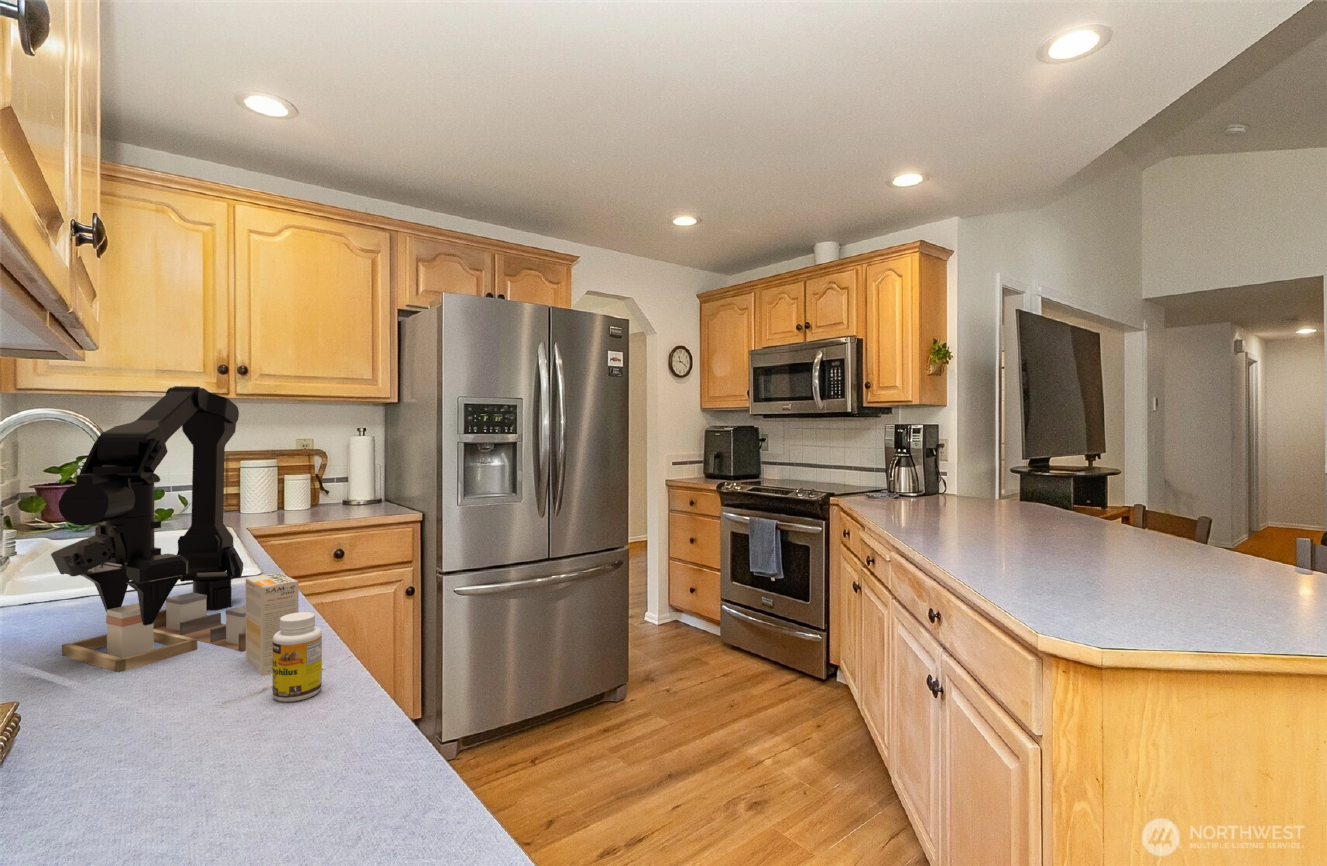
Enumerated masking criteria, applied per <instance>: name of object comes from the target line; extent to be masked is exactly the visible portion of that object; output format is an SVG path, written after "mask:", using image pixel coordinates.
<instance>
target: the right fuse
mask: <svg viewBox="0 0 1327 866" xmlns="http://www.w3.org/2000/svg"><path fill="white" fill-rule="evenodd" d="M225 617H226V618H225V624H226V642H228V643H233V644H237V645H239V634H240V633H243V632H246V604H244V605H241V606H237V607H233V608H232V607H231V608H227V609H225Z"/></svg>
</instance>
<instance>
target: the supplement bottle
mask: <svg viewBox="0 0 1327 866" xmlns="http://www.w3.org/2000/svg"><path fill="white" fill-rule="evenodd" d="M279 627H280V631H278V632H277V633H276V634H275V635H274V636H273V673H272V689H271V690H272V697H273V698H274V699H275V700H276V701H277V702H278V701H279V702H283V703H284V702H285V703H289V702H290V703H291V702H293V703H294V702H297V701H298V702H299V701H302V700H306V699H309V698H312V697H314V696H315V695H317V694H318V693H319V692H320V691H321V689H322V684H323V683H322V681H323V680H322V678H323V677H322V675H323V674H322V670H323V669H322V667H323V665H322V664H323V661H322V660H323V659H322V657H323V655H322V651H323V634H322V629H321V628H320V627H319V626H317V625H316V615H315V613H313V612H311V611H310V612H309V611H308V612H307V611H300V612H299V611H298V613H292V614H288V615H285V616H283V617H281V618H280V626H279Z"/></svg>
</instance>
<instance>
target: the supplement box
mask: <svg viewBox="0 0 1327 866" xmlns="http://www.w3.org/2000/svg"><path fill="white" fill-rule="evenodd" d="M299 584H300V583H299V581H298V580H296V579H294V578H292V577H290V576H288V575H285V574H284V573H281V572H278V573H277V572H275V573H269V574H268V573H267V574H263V575H256V576H249V577H246V578H245V605H246V651H245V662H246V663H247V664H248V665H249V666H250V667H251V668H253V670H255V671H257V673H259V674H260V675H261V676H266V675H271V674H273V636H274V635H275V634H276V633H277V632H278V631H280V627H279V626H280V618H281V617H283V616H285V615H288V614H292V613H299V590H300V589H299V588H300V587H299Z"/></svg>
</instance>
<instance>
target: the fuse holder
mask: <svg viewBox="0 0 1327 866" xmlns="http://www.w3.org/2000/svg"><path fill="white" fill-rule="evenodd" d="M153 629H156V630H160V631H164V632H168V633H172V634H177V635H181V636H185V637H189V638H193V639H197V642H201V643H205V644H209V645H214V646H218V647H222V648H226V649H230V650H234V651H238V652H242V653H243V652H246V632H243V633H240V634H239V645H237V644H233V643H228V642H226V623H222V613H221V612H214V613H212V614H206V616H203V617H199V618H195V619H191V620H187V621H183V622H180V631H177V630H173V629H168V628H166V608H165V609H160V611H159V613H158V615H157V617H156V619H155V620H154V622H153Z"/></svg>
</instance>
